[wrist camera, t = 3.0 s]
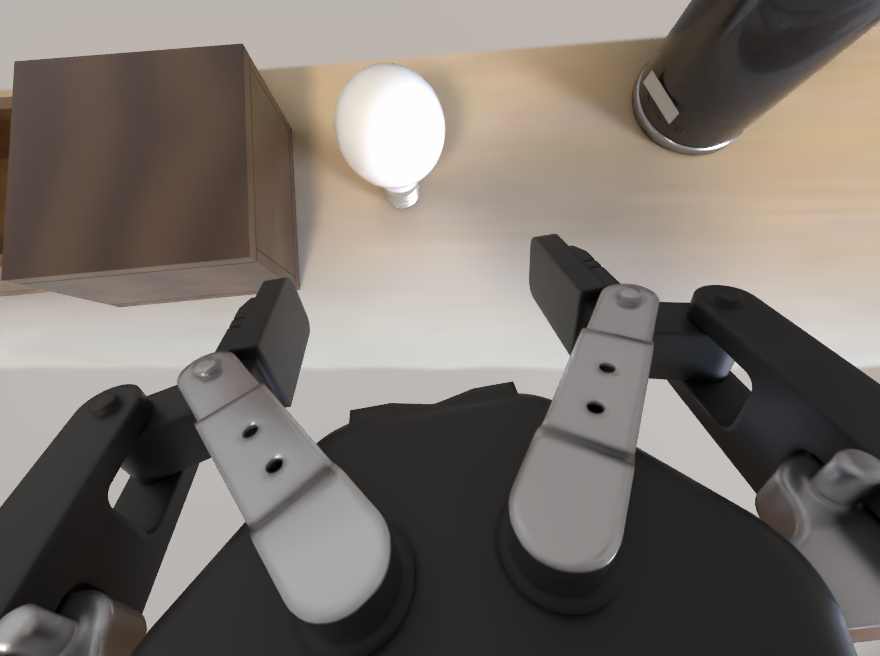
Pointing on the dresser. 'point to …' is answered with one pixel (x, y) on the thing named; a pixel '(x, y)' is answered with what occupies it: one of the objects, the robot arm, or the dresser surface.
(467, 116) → the dresser surface
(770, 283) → the dresser surface
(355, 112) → the lightbulb
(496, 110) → the dresser surface
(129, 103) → the cabinet
